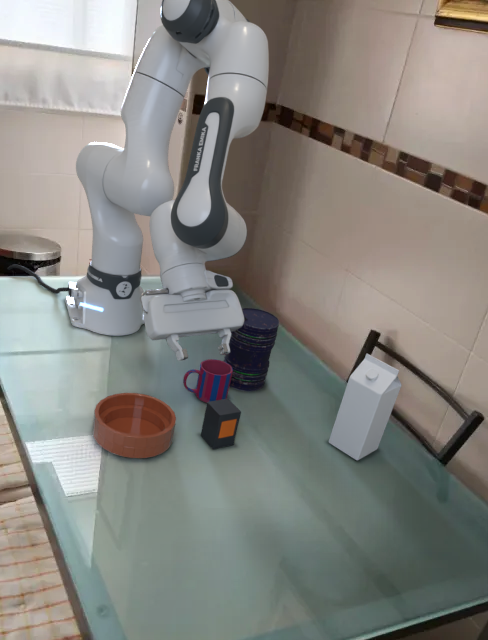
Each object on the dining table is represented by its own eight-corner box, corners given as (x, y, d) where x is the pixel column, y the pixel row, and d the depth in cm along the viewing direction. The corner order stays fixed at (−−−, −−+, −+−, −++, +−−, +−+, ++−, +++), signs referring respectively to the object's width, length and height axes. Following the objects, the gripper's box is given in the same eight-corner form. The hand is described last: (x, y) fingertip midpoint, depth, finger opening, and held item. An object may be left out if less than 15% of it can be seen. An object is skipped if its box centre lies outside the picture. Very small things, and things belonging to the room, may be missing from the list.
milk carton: (348, 432, 133) (376, 349, 123) (377, 450, 129) (409, 366, 119) (327, 442, 128) (355, 357, 118) (357, 461, 124) (388, 375, 114)
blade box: (200, 435, 123) (207, 401, 119) (220, 431, 125) (228, 398, 121) (213, 449, 120) (220, 415, 116) (233, 445, 122) (241, 411, 118)
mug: (230, 404, 134) (236, 375, 130) (183, 404, 131) (188, 374, 127) (222, 387, 139) (227, 359, 136) (176, 386, 136) (181, 358, 133)
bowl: (81, 420, 120) (83, 397, 118) (152, 410, 127) (155, 388, 125) (109, 467, 110) (112, 443, 108) (185, 453, 117) (189, 430, 115)
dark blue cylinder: (252, 367, 149) (266, 307, 141) (272, 390, 142) (288, 327, 134) (213, 369, 145) (225, 308, 137) (231, 393, 138) (245, 329, 130)
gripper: (144, 283, 116) (163, 358, 115) (238, 278, 127) (256, 346, 126) (131, 296, 121) (148, 368, 120) (222, 290, 132) (239, 355, 131)
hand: (204, 356), depth 123 cm, fingers open, 8 cm apart
